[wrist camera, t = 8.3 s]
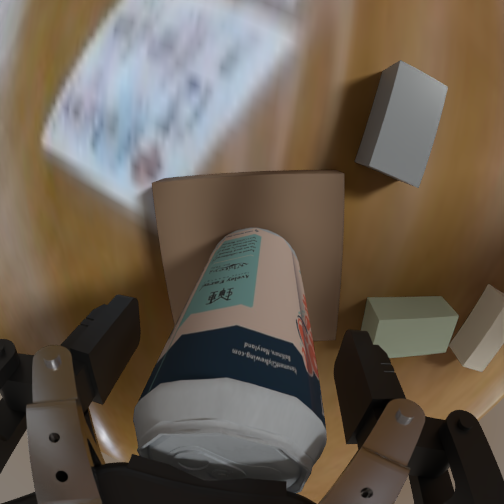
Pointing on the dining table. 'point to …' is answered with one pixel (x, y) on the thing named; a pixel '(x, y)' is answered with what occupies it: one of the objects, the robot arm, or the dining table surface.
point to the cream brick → (481, 331)
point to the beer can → (238, 372)
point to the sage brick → (409, 324)
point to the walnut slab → (256, 216)
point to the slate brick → (402, 123)
